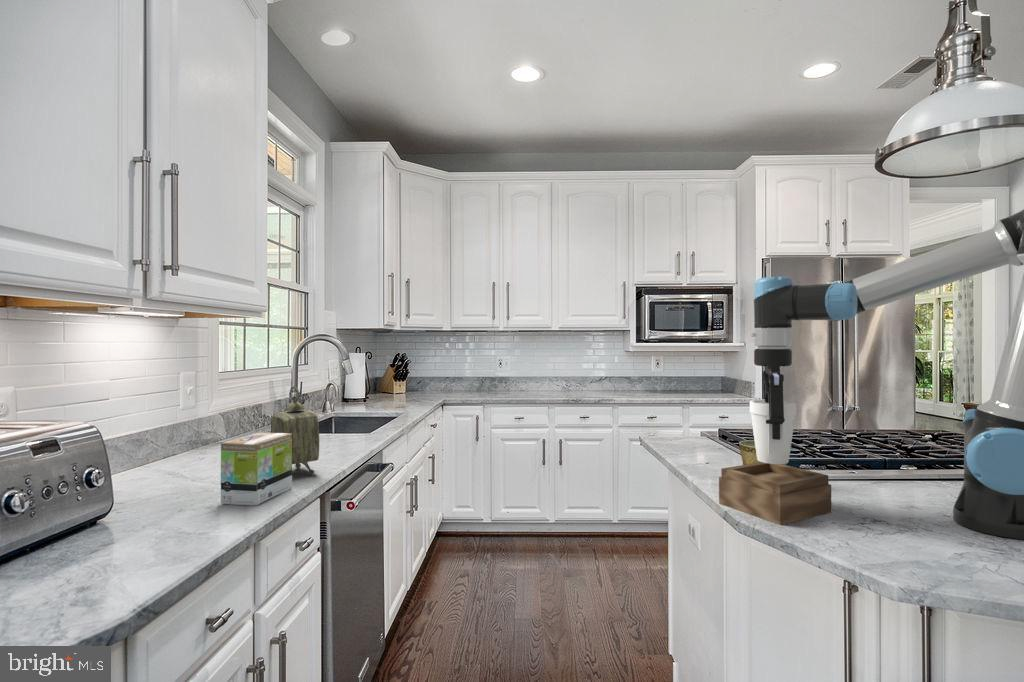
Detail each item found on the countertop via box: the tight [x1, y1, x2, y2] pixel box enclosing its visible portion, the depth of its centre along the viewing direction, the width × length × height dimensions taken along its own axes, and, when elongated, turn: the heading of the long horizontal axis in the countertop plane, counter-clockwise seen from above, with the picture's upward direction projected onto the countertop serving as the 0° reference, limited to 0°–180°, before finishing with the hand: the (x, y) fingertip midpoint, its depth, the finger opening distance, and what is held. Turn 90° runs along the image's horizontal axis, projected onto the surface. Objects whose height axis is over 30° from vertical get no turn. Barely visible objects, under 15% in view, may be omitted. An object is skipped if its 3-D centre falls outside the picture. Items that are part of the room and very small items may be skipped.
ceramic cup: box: [738, 439, 760, 465], centre depth 145 cm, size 13×10×10 cm
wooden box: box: [718, 462, 832, 526], centre depth 123 cm, size 16×16×8 cm
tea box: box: [220, 432, 293, 506], centre depth 138 cm, size 15×10×15 cm, turn 171°
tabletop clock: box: [270, 385, 320, 476], centre depth 159 cm, size 14×9×25 cm, turn 40°
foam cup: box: [749, 398, 797, 465], centre depth 123 cm, size 10×9×13 cm
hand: (772, 449), depth 123 cm, fingers closed on foam cup, 9 cm apart
